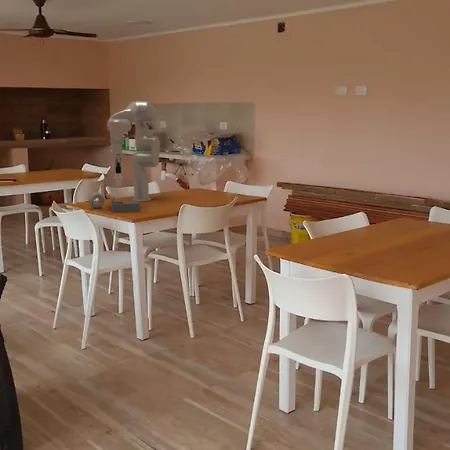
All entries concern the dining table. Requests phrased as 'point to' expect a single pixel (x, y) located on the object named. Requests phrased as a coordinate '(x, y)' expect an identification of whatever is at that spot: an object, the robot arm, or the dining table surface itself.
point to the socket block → (125, 206)
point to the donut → (92, 198)
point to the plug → (118, 179)
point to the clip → (110, 196)
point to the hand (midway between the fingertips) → (117, 172)
